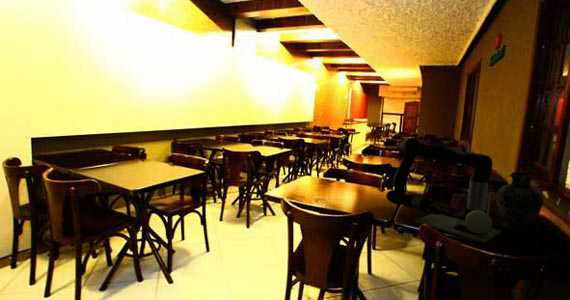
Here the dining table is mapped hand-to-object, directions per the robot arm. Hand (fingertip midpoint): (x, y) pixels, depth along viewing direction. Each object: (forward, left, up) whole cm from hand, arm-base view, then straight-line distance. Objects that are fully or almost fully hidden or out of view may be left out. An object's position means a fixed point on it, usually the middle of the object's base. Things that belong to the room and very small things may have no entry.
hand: (453, 212), depth 158 cm
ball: (-6, +10, -2) cm, 12 cm away
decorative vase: (-33, +4, -7) cm, 34 cm away
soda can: (-15, -15, -7) cm, 22 cm away
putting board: (-1, +1, -7) cm, 7 cm away
